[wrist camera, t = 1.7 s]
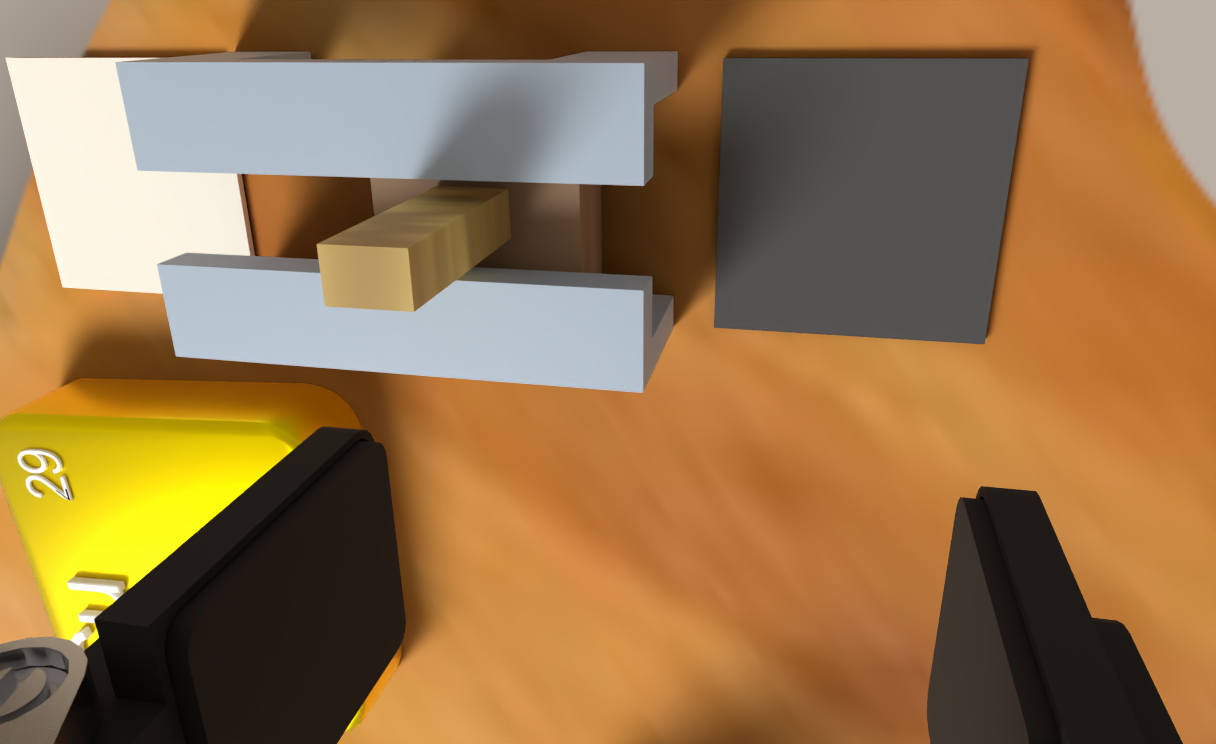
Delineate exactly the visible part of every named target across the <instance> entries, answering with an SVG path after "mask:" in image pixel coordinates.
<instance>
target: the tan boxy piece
mask: <svg viewBox="0 0 1216 744" xmlns="http://www.w3.org/2000/svg"><path fill="white" fill-rule="evenodd" d="M370 182H371V191H372V200H373V209H374V217H372V218H370V219H368V220H365V221H363V222H361V223H359V224H357V225H355V226H353V227H351V228H349V229H347V230H345V231H343V232H340V233H338V234H336V235H334V236H332V237H330V238H328V239H326V240H324V241H322V242H320V243H318V244H317V252H318V259H319V266H320V274H321V281H322V288H323V296H324V303H325V307H341V308H357V309H373V310H389V311H405V312H415V311H416V310H418V309H419V308H420V307H421V306H423V305H424V304H425V303H427V302H428V301H429V300H431V299H432V298H433V297H435V296H436V295H437V294H439V293H440V292H441V291H442V290H444V289H445V288H446V287H448V286H449V285H450V284H452V283H453V282H454V281H456V280H457V279H458V278H460V277H461V276H462V275H464V274H465V273H466V272H467V271H469V270H470V269H471V268H473V267H480V268H500V269H519V270H539V271H559V272H578V273H598V274H603V272H602V201H601V185H596V184H563V183H530V182H497V181H463V180H430V179H397V178H370Z"/></svg>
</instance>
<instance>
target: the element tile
mask: <svg viewBox="0 0 1216 744" xmlns="http://www.w3.org/2000/svg"><path fill="white" fill-rule="evenodd" d="M323 426H324V427H337V428H347V429H358V430H362V428H361V426H360V423H359V420H358V418H357V417H356V415H355V413H354V412H353V410H352V408H351V407H350V405H349V404H348V403H347V402H346V401H345V400H344V399H342V398H341V397H340V396H339V395H338V394H337V393H335V392H333V391H330V390H328V389H326V388H323V387H321V386H317V385H312V384H307V383H269V382H227V381H186V380H144V379H102V378H82V379H78V380H75V381H73V382H71V383H69V384H67V385H65V386H63V387H61V388H59V389H57V390H55V391H53V392H51V393H49V394H47V395H45V396H43V397H41V398H39V399H37V400H35V401H33V402H31V403H29V404H27V405H25V406H23V407H21V408H19V409H17V410H15V411H13V412H11V413H9V414H7V415H5V416H3V417H1V418H0V482H1V485H2V488H3V491H4V494H5V497H6V500H7V502H8V505H9V508H10V511H11V514H12V517H13V519H14V522H15V525H16V528H17V531H18V534H19V537H20V539H21V542H22V545H23V548H24V551H25V554H26V556H27V559H28V562H29V565H30V568H31V571H32V574H33V576H34V579H35V582H36V585H37V588H38V591H39V593H40V596H41V599H42V602H43V605H44V608H45V610H46V613H47V616H48V619H49V622H50V625H51V628H52V630H53V633H54V636H55V638H61V639H66V640H70V641H72V642H74V643H75V644H77V645H78V646H80V647H82V648H83V650H85V649H86V648H88V647H89V646H90V645H91V644H92V643H93V642H94V641H96V640H97V639H98V638H99V636H98V632H97V629H96V625H95V622H94V618H96V617H97V616H98V615H99V614H100V613H102V612H103V611H104V610H105V609H106V608H107V607H109V606H110V605H111V604H112V603H113V602H115V601H116V600H117V599H118V598H119V597H120V596H122V595H123V594H124V593H125V592H126V591H127V590H129V589H130V588H131V587H132V586H133V585H135V584H136V583H137V582H138V581H139V580H140V579H142V578H143V577H144V576H145V575H146V574H147V573H149V572H150V571H151V570H152V569H153V568H155V567H156V566H157V565H158V564H159V563H160V562H162V561H163V560H164V559H165V558H166V557H168V556H169V555H170V554H171V553H172V552H173V551H175V550H176V549H177V548H178V547H179V546H180V545H182V544H183V543H184V542H185V541H186V540H188V539H189V538H190V537H191V536H192V535H193V534H195V533H196V532H197V531H198V530H199V529H200V528H202V527H203V526H204V525H205V524H206V523H208V522H209V521H210V520H211V519H212V518H213V517H215V516H216V515H217V514H218V513H219V512H221V511H222V510H223V509H224V508H225V507H226V506H228V505H229V504H230V503H231V502H232V501H233V500H235V499H236V498H237V497H238V496H239V495H241V494H242V493H243V492H244V491H245V490H246V489H248V488H249V487H250V486H251V485H252V484H253V483H255V482H256V481H257V480H258V479H259V478H261V477H262V476H263V475H264V474H265V473H266V472H268V471H269V470H270V469H271V468H272V467H274V466H275V465H276V464H277V463H278V462H279V461H281V460H282V459H283V458H284V457H285V456H286V455H288V454H289V453H290V452H291V451H292V450H294V449H295V448H296V447H297V446H298V445H299V444H301V443H302V442H303V441H304V440H305V439H307V438H308V437H309V436H310V435H311V434H312V433H314V432H315V431H316V430H317V429H319V428H321V427H323ZM401 655H402V643H401V645H400V647H399V649H398V651H397V653H396V654H395V656H394V657H393V659H392V660H391V662H390V663H389V665H388V666H387V668H386V669H385V671H384V672H383V674H382V675H381V677H380V678H379V680H378V682H377V683H376V685H375V686H374V688H373V689H372V691H371V692H370V694H369V695H368V697H367V698H366V700H365V701H364V703H363V704H362V706H361V708H360V709H359V711H358V712H357V714H356V715H355V717H354V718H353V720H352V721H351V723H350V724H349V726H348V727H347V729H346V730H345V732H344V733H347V732H351V731H353V730H354V729H355V728H356V727H357V726H358V725H359V724H360V723H361V722H363V720H364V719H365V717H366V715H367V714H368V712H369V711H370V709H371V708H372V706H373V705H374V703H375V701H376V700H377V698H378V697H379V695H380V694H381V692H382V691H383V689H384V687H385V686H386V684H387V683H388V681H389V680H390V678H391V677H392V675H393V674H394V672H395V670H396V669H397V667H398V665H399V662H400V658H401Z"/></svg>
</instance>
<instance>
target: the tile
mask: <svg viewBox="0 0 1216 744" xmlns="http://www.w3.org/2000/svg"><path fill="white" fill-rule="evenodd" d="M145 59H156V58H145V57H74V58H73V57H65V58H64V57H60V58H59V57H56V58H55V57H52V58H51V57H46V58H45V57H11V58H6V61H7V65H8V70H9V74H10V78H11V82H12V85H13V90H14V94H15V98H16V102H17V105H18V110H19V114H20V118H21V122H22V126H23V130H24V134H25V137H26V142H27V146H28V150H29V154H30V158H31V162H32V166H33V170H34V174H35V178H36V182H37V186H38V190H39V194H40V198H41V202H42V206H43V210H44V214H45V218H46V222H47V226H48V230H49V234H50V238H51V242H52V246H53V250H54V254H55V258H56V262H57V266H58V270H59V274H60V278H61V282H62V286H63V287H65V288H82V289H98V290H114V291H130V292H146V293H163V292H162V287H161V282H160V277H159V272H158V267H157V264H159V263H161V262H164V261H166V260H169V259H171V258H174V257H177V256H179V255H182V254H184V253H204V254H224V255H244V256H255V253H254V247H253V241H252V234H251V228H250V222H249V216H248V210H247V204H246V198H245V192H244V185H243V179H242V174H231V173H198V172H165V171H138V170H137V165H136V161H135V156H134V151H133V146H132V141H131V136H130V131H129V127H128V122H127V117H126V112H125V107H124V102H123V97H122V93H121V88H120V83H119V78H118V73H117V68H116V63H115V62H122V61H134V60H145Z"/></svg>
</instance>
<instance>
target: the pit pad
mask: <svg viewBox="0 0 1216 744" xmlns="http://www.w3.org/2000/svg"><path fill="white" fill-rule="evenodd" d="M1028 62H1029V59H1028V58H724V62H723V91H722V119H721V148H720V176H719V205H718V233H717V262H716V290H715V319H714V328H729V329H746V330H762V331H778V332H794V333H810V334H827V335H843V336H859V337H875V338H891V339H908V340H924V341H940V342H956V343H972V344H985V338H986V331H987V325H988V318H989V312H990V306H991V299H992V293H993V286H994V280H995V274H996V267H997V261H998V254H999V248H1000V242H1001V235H1002V229H1003V222H1004V216H1005V209H1006V203H1007V197H1008V190H1009V184H1010V177H1011V171H1012V165H1013V158H1014V152H1015V145H1016V139H1017V133H1018V126H1019V120H1020V113H1021V107H1022V100H1023V94H1024V88H1025V81H1026V75H1027V68H1028Z"/></svg>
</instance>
